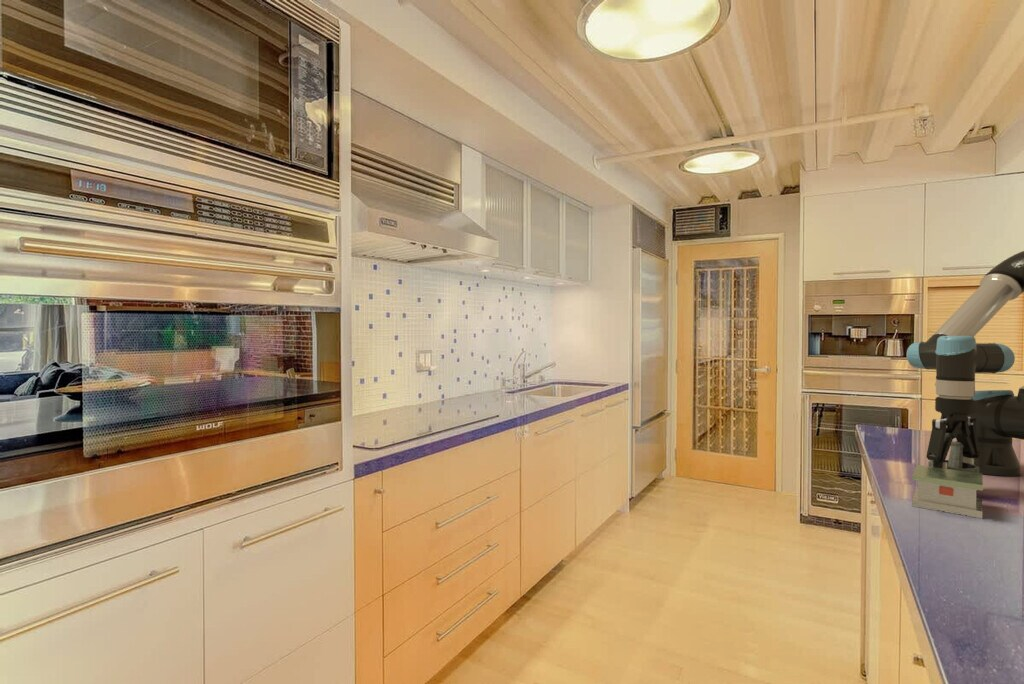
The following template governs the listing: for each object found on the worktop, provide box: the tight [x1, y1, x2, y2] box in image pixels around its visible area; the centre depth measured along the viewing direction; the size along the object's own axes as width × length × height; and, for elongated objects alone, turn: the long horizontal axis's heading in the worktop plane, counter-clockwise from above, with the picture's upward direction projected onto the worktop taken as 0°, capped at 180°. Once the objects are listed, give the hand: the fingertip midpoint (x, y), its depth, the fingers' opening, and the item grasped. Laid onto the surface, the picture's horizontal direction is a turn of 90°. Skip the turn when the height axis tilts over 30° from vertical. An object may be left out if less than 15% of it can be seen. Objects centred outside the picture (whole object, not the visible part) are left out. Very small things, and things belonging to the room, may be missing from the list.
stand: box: [911, 464, 984, 519], centre depth 120 cm, size 12×12×7 cm
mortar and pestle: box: [928, 440, 979, 473], centre depth 131 cm, size 11×9×12 cm
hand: (953, 485), depth 131 cm, fingers closed on mortar and pestle, 10 cm apart
